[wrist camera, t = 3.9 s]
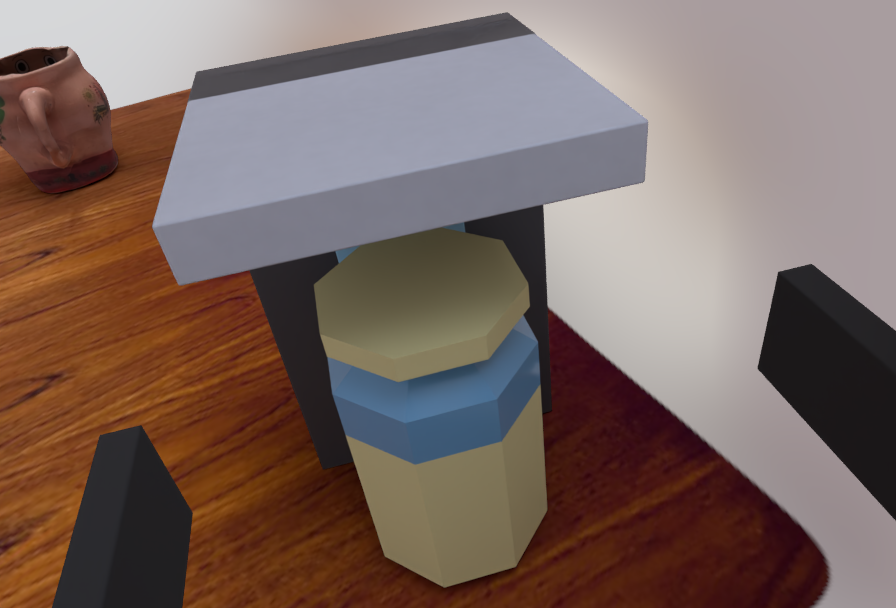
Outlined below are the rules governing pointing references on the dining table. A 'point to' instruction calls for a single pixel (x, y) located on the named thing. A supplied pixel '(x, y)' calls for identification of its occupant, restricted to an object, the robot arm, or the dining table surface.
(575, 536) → the dining table surface
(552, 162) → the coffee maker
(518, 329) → the jar
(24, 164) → the pink ceramic mug
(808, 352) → the robot arm
